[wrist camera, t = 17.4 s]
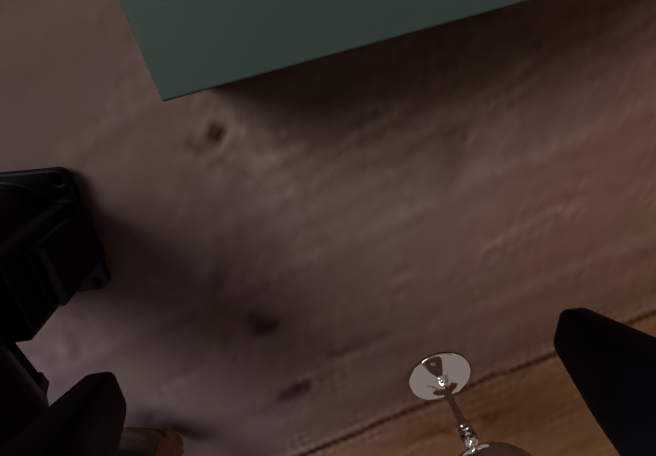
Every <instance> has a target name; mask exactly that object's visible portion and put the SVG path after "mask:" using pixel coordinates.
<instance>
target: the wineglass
mask: <svg viewBox="0 0 656 456" xmlns="http://www.w3.org/2000/svg"><path fill="white" fill-rule="evenodd" d="M470 375H471V368H470V364H469V362H468V361H467V360H466V359H465V358H464V357H463V356H461V355H459V354H456V353H439V354H435V355H432V356H430V357H427V358H426V359H424V360H422V361H421V362H420V363H419V364H417V366H416V367H415V368H414V369H413V370H412V372H411V374H410V377H409V387H410V390H411V391H412V392H413V394H414V395H416V396H417V397H419V398H421V399H424V400H441V399H445V398H446V399H447V401H448V403H449V405H450V407H451V409H452V411H453V413H454V416H455V418H456V422H457V425H458V432H459V435H460V439H461V440H462V442H463V443H464V445H465V446H466V448H468V449H467V450H465V451H464V452H462V453H461V454H460V455H459V456H532V455H531V454H530V453H528V452H527V451H525V450H523V449H522V448H519V447H517V446H515V445H512V444H508V443H503V442H487V443H482V444H479V438H478V436H477V433H476V431H475V430H474V429H473V427H472V426H471V425H470V424H469V423H468V422H467V420H466V419H465V418H464V416H463V415H462V413H461V411H460V409H459V407H458V405H457V403H456V401H455V399H454V397H453V395H454V394H456V393H457V392H459V391H460V390H461V389H462V388H463V387H464V386H465V385H466V384H467V382H468V380H469V378H470Z"/></svg>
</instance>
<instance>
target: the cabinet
mask: <svg viewBox="0 0 656 456" xmlns="http://www.w3.org/2000/svg"><path fill="white" fill-rule="evenodd" d="M119 1H120V3H121V5H122V8H123V10H124V12H125V15H126V17H127V20H128V22H129V24H130V27H131V29H132V31H133V34H134V36H135V38H136V41H137V43H138V45H139V48H140V50H141V52H142V55H143V57H144V59H145V62H146V64H147V66H148V69H149V71H150V74H151V76H152V78H153V81H154V83H155V85H156V88H157V90H158V92H159V95H160V97H161V99H162V100H163V101H167V100H171V99H175V98H178V97H182V96H186V95H189V94H193V93H196V92H200V91H204V90H207V89H211V88H214V87H218V86H222V85H225V84H229V83H233V82H236V81H240V80H243V79H247V78H251V77H254V76H258V75H262V74H265V73H269V72H272V71H276V70H280V69H283V68H287V67H291V66H294V65H298V64H301V63H305V62H309V61H312V60H316V59H320V58H323V57H327V56H330V55H334V54H338V53H341V52H345V51H348V50H352V49H356V48H359V47H363V46H367V45H370V44H374V43H377V42H381V41H385V40H388V39H392V38H396V37H399V36H403V35H406V34H410V33H414V32H417V31H421V30H425V29H428V28H432V27H435V26H439V25H443V24H446V23H450V22H454V21H457V20H461V19H464V18H468V17H472V16H475V15H479V14H482V13H486V12H490V11H493V10H497V9H501V8H504V7H508V6H511V5H515V4H519V3H522V2H526V1H530V0H119Z"/></svg>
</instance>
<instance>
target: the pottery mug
mask: <svg viewBox="0 0 656 456" xmlns="http://www.w3.org/2000/svg"><path fill="white" fill-rule="evenodd" d="M183 452H184V451H183V442H182V440H181V438H180V436H179V435H178V434H177V432H176V431H175V430H174V428H173V427H170V428H169V429H166V430H165V431H164V432H163V433H162V431H161V430H159V429H152V428H130V427H124V428H123V430H122V435H121V440H120V444H119V449H118V453H117V456H181V455H182V454H183Z"/></svg>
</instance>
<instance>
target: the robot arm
mask: <svg viewBox="0 0 656 456" xmlns="http://www.w3.org/2000/svg"><path fill="white" fill-rule="evenodd" d="M55 175H59V176H60V177H62V179H63V183H62V182H59V181H57V179H56V177H55ZM104 256H105V253H104V250H103V247H102V245H101V242H100V239H99V236H98V234H97V231H96V228H95V226H94V223H93V220H92V218H91V215H90V212H89V211H88V210H86V209H85V208H84V205H83V203H82V200H81V197H80V195H79V192H78V189H77V187H76V184H75V181H74V179H73V176H72V174H71V173H70V172H69V171H68V170H67V169H65V168H62V167H53V168H43V169H32V170H22V171H11V172H1V173H0V456H117V453H118V449H119V444H120V440H121V435H122V430H123V426H124V421H125V416H126V401H125V398H124V396H123V394H122V391H121V389H120V387H119V384H118V382H117V380H116V377H115V376H114V374H113V373H111V372H102V373H94V374H90V375H87V376H85V377H84V378H83V379H82V380H80V381H79V382H78V383H77V384H76V385H74V386H73V387H72V388H71V389H70V390H69V391H67V392H66V393H65V394H64V395H63V396H61V397H60V398H59V399H58V400H57V401H55V402H54V403H53V404H52V405H51V406H49V403H48V399H47V396H46V395H47V391H48V386H49V381H48V380H47V378H46V377H45V376H44V374H43V373H42V372H37V371H36V369H35V368H34V367H33V365H32V364H31V363H30V362H29V360H28V359H27V358H26V356H25V355H24V354H23V353H22V351H21V350H20V349H19V347H18V346H17V345H16V344H15V343H16V342H21V341H29V340H31V339H33V338H34V336H35V335H36V334H37V333H38V331H39V330H40V329H41V328H42V327H43V325H44V324H45V323H46V322H47V320H48V319H49V318H50V317H51V315H52V314H53V313H54V312H55V311H56V309H57V308H58V307H59V306H65V305H66V304H67V303H68V302H69V301H70V299H71V298H72V297H73V296H74V294H75V293H76V292H80V291H88V290H97V289H102V288H104V287H106V286H107V284H108V283H109V281H110V275H109V272H108V269H107V267H106V264H105V261H104V259H103V257H104ZM95 277H99V278H101V280H102V281H98V280H97V279H96V278H95ZM554 347H555V350H556V352H557V354H558V356H559V358H560V359H561V361H562V363H563V365H564V366H565V368H566V370H567V371H568V373H569V375H570V377H571V378H572V380H573V382H574V384H575V385H576V387H577V389H578V391H579V392H580V394H581V396H582V398H583V399H584V401H585V403H586V404H587V406H588V408H589V410H590V411H591V413H592V415H593V416H594V418H595V419H596V421H597V423H598V424H599V425H600V427H601V428H602V430H603V431H604V433H605V434H606V436H607V437H608V439H609V440H610V441H611V443H612V444H613V446H614V447H615V449H616V450H617V451H618V453H619V454H620V456H656V337H653V336H651V335H648V334H646V333H644V332H641V331H639V330H636V329H634V328H632V327H629V326H627V325H625V324H622V323H620V322H617V321H615V320H613V319H610V318H608V317H605V316H603V315H601V314H598V313H596V312H594V311H591V310H589V309H586V308H573V309H566V310H564V311H562V313H561V314H560V316H559V320H558V324H557V328H556V332H555V336H554Z"/></svg>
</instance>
